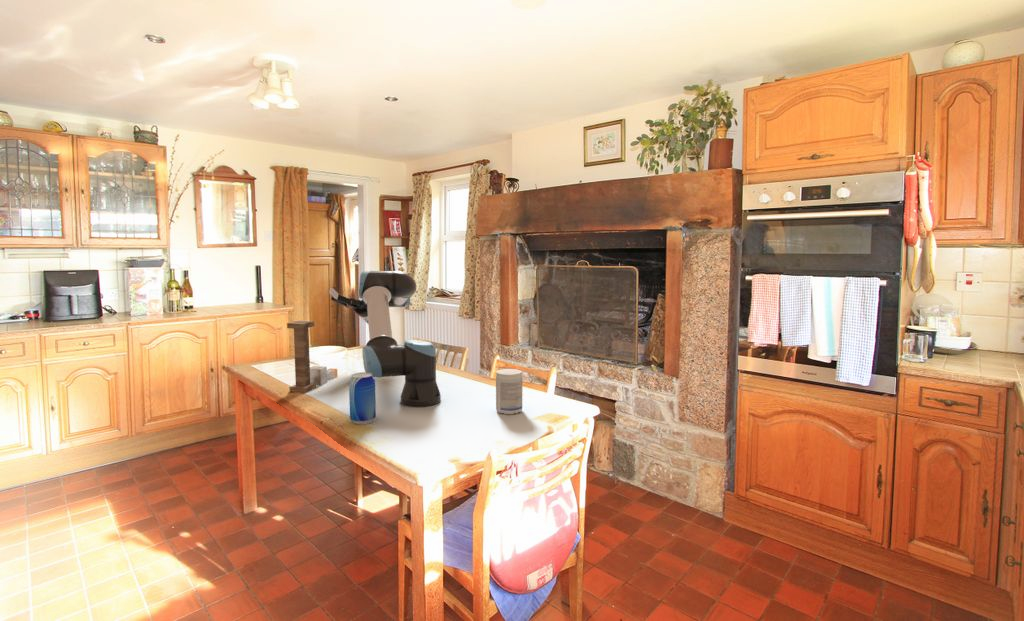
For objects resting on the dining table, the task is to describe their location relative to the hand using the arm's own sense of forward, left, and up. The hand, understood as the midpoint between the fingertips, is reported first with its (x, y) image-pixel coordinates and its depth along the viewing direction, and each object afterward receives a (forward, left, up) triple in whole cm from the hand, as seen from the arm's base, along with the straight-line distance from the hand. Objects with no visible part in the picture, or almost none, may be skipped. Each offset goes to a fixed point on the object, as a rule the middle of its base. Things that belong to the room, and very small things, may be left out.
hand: (344, 290), depth 224 cm
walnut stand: (-7, +19, -40) cm, 45 cm away
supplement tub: (-76, -36, -40) cm, 93 cm away
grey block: (+3, +9, -40) cm, 41 cm away
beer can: (-59, +12, -40) cm, 72 cm away
